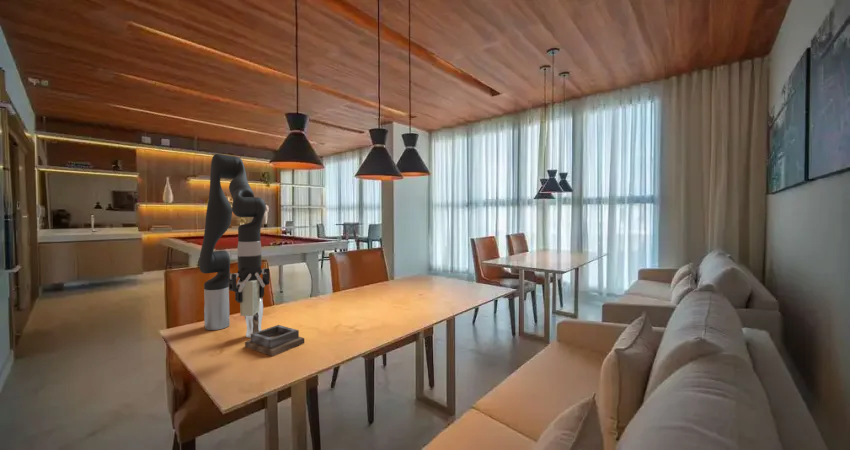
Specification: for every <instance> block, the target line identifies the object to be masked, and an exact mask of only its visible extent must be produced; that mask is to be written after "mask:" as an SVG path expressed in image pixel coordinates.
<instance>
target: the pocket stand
mask: <svg viewBox="0 0 850 450" xmlns="http://www.w3.org/2000/svg"><path fill="white" fill-rule="evenodd" d="M299 333H300V332H299V329H296V328H291V327H289V326H284V325H279V324H276V325H274V326H271V327H267V328H265V329H262V330H261V331H258V332H255V333H252V334H251V338H250V340H249V339H248V340H246V341H245V342H244V347H245V348H246V349H250V350H252V351H255V352H258V353H262V354H265V355H268V356H270V357H274V356H276V355H279V354H282V353H285V352H288V351H289V350H291V349H294V348H297V347H298V346H301V345H303V344H305V337H301V336H300V335H299Z"/></svg>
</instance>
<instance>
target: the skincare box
mask: <svg viewBox="0 0 850 450" xmlns="http://www.w3.org/2000/svg"><path fill="white" fill-rule="evenodd" d="M242 282H243V281H241V282H240V283H242ZM245 283H246V285H245V286H244V287H243V289H242V291H241V292H242V303H239V304H240V306H239V308H240V309H239V310H240V312H239V313H240V315H239V316H240V317H241V316H242V317H245V316H253V315H254V314H256V313H257V312H258V311H259V310H260V284H259V282H258V280H251V281H248V282H245Z"/></svg>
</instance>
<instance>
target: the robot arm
mask: <svg viewBox="0 0 850 450" xmlns="http://www.w3.org/2000/svg"><path fill="white" fill-rule="evenodd" d="M209 174H210V176H209V181H210V182H209V193H208V201H207V207H206V213H205V223H204V233H203V234H204V235H203V240H202V245H201V247H200V248H201V249H200V254H199V258H198V259H199V260H198V268H199V271H200V272H201V273H203V274H213V273H214V274H215V273H216V274H215V276H213V277H211V278H210V279H208V280H206V281H205V282H204V283H203V287H204V288H203V290H204V291H203V293H204V294H203V295H204V298H203V299H204V305H203V310H204V311H203V317H204V329H205V330H207V331H216V330H217V331H218V330H223V329H225V328H228V327H229V326H230V324H231V323H230V291H232V292H235V294H234V295H235V297H234V298H235V302H237V303H238V304H240V303H242V292H241V291H242V289H243V287H244V286H245V285H246V283H245V282H248V281H251V280H258V282H259V284H260V298H262V299H263V298H264V296H265V287H266V286H267V285H270V268H266V267H263V268H262V264H263V263H262V261H263V260H262V241H261V228H262V223H263V219H264V216H265V213H266V211H267V210H266V209H267V207H266V202H265V200H264V199H263V198H262V197H259V196H257V197H256V196H255V194H254V191H253V189H252V187H251V186H250V184H249V181H248V177H247V173H246V167H245V165H244V162H243V160H242V159H241V157H238V156H235V155H227V154H222V153H215V154H213V156H212V157H211V162H210V173H209ZM221 179H229V180H230V179H231V181H230V183H229V186H228V189H229V190H228V191H229V193H230V195H231V197H232V204H231V203H230V201H229V199H228V198H227V196H226V195H225V192H224V191H223V188H222V186H221V185H222V184H221ZM233 215H235V216H236V217H238V218H252V220H251V221H250V222H248V223H243V224H240V225H239V226H238V227H237V228H238V229H237V238H238V239H237V240H238V241H237V268H238V269H237V272H234V273H232V272H231V271H230V270H231V257H230V254H229V252H228V251H227V250H215V247H216V245H217V244H218V241H219V240H220V239H221V238H222V236H224V234H225V233H226V232H227V230H228V229H229V228H230V226H231V225H232V219H233ZM261 275H262V277H261ZM241 281H243V282H242V283H240V282H241Z"/></svg>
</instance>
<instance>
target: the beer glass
mask: <svg viewBox="0 0 850 450" xmlns="http://www.w3.org/2000/svg"><path fill="white" fill-rule="evenodd" d="M263 301H264V300H263V298H260V310H259V311H258V312H257V313H256V314H254V315H253V316H244V320H245V324H246V333H245V338H248V339H251V334H252V333H255V332H258V331H261V330H263V329H262V320H263V315H264V303H263Z"/></svg>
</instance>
